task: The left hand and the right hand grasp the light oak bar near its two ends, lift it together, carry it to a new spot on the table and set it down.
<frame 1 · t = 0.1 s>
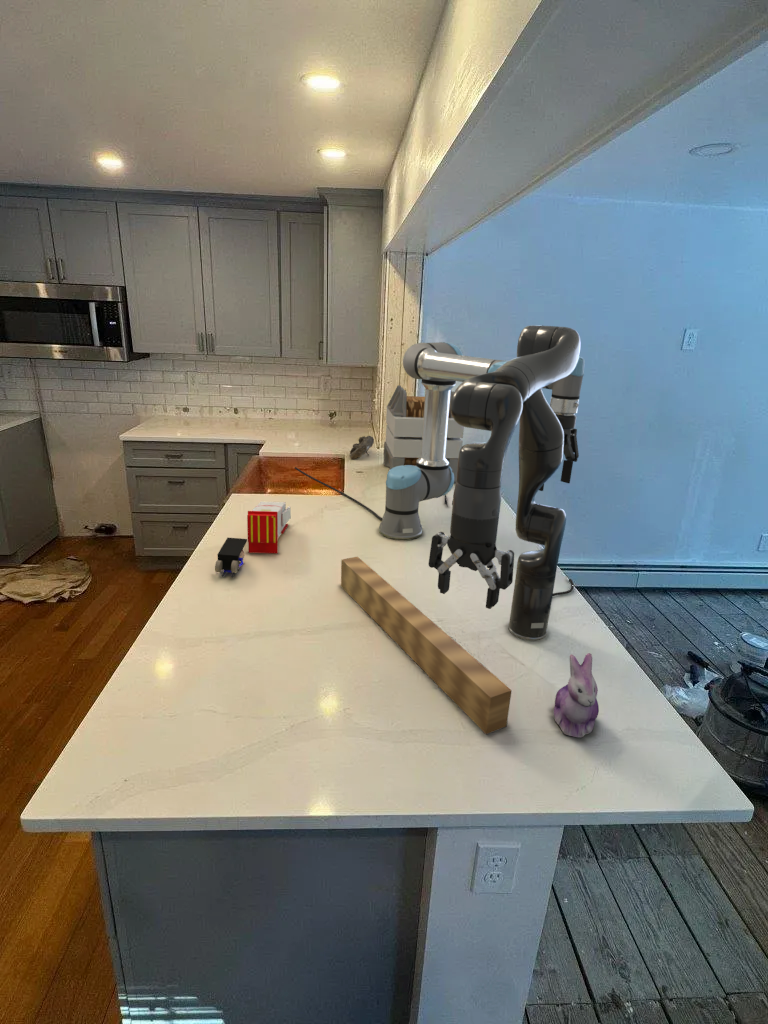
left hand: (552, 486, 166), 28 cm above the counter, tool pointing down, fingers open, 13 cm apart
right hand: (466, 599, 96), 29 cm above the counter, tool pointing down, fingers open, 8 cm apart
toy: (269, 537, 192), on the counter
fossil: (361, 455, 303), on the counter
figurine character: (232, 569, 168), on the counter
feather: (445, 497, 242), on the counter
figurine: (575, 723, 111), on the counter
bar: (407, 643, 135), on the counter
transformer: (419, 473, 275), on the counter
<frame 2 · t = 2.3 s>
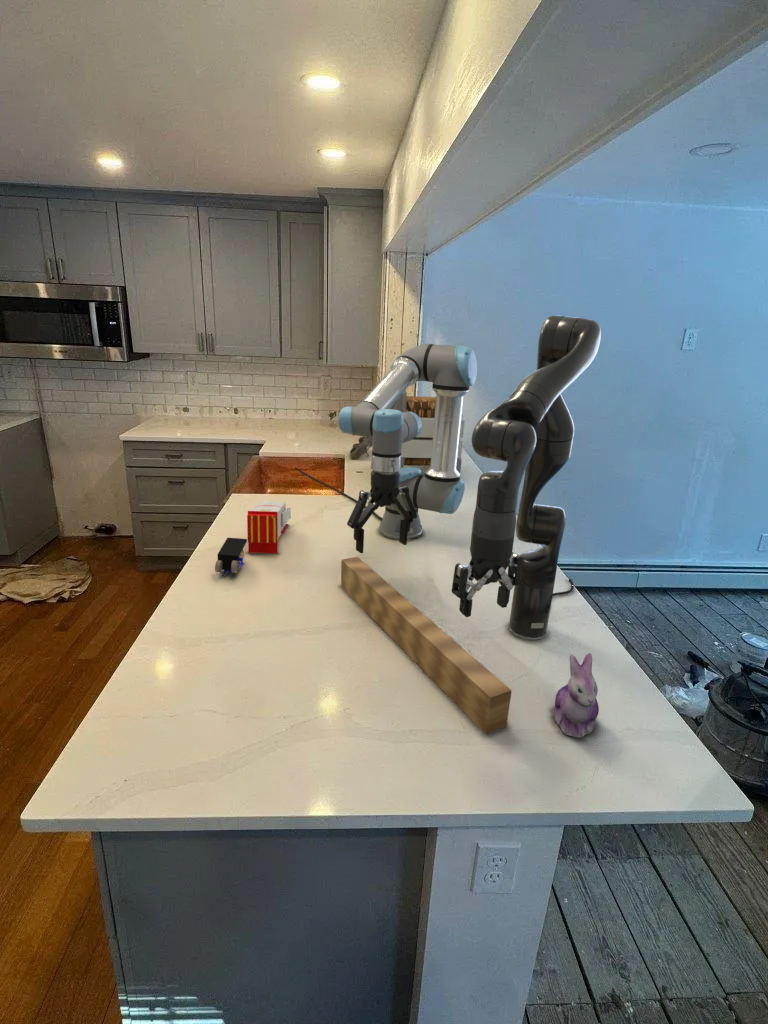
left hand: (381, 547, 152), 14 cm above the counter, tool pointing down, fingers open, 13 cm apart
right hand: (484, 610, 107), 22 cm above the counter, tool pointing down, fingers open, 8 cm apart
nothing on the counter moved.
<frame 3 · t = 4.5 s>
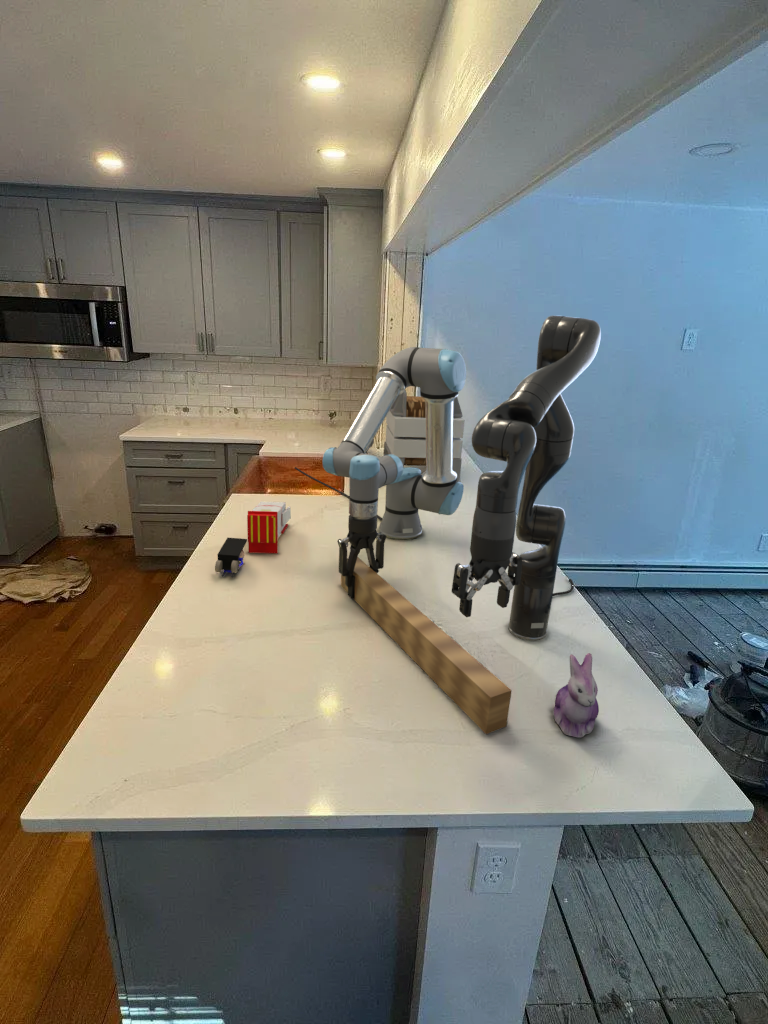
left hand: (360, 594, 156), 1 cm above the counter, tool pointing down, fingers closed on bar, 5 cm apart
right hand: (484, 610, 107), 22 cm above the counter, tool pointing down, fingers open, 8 cm apart
bar: (407, 643, 135), on the counter, touching left hand
everything else where it was.
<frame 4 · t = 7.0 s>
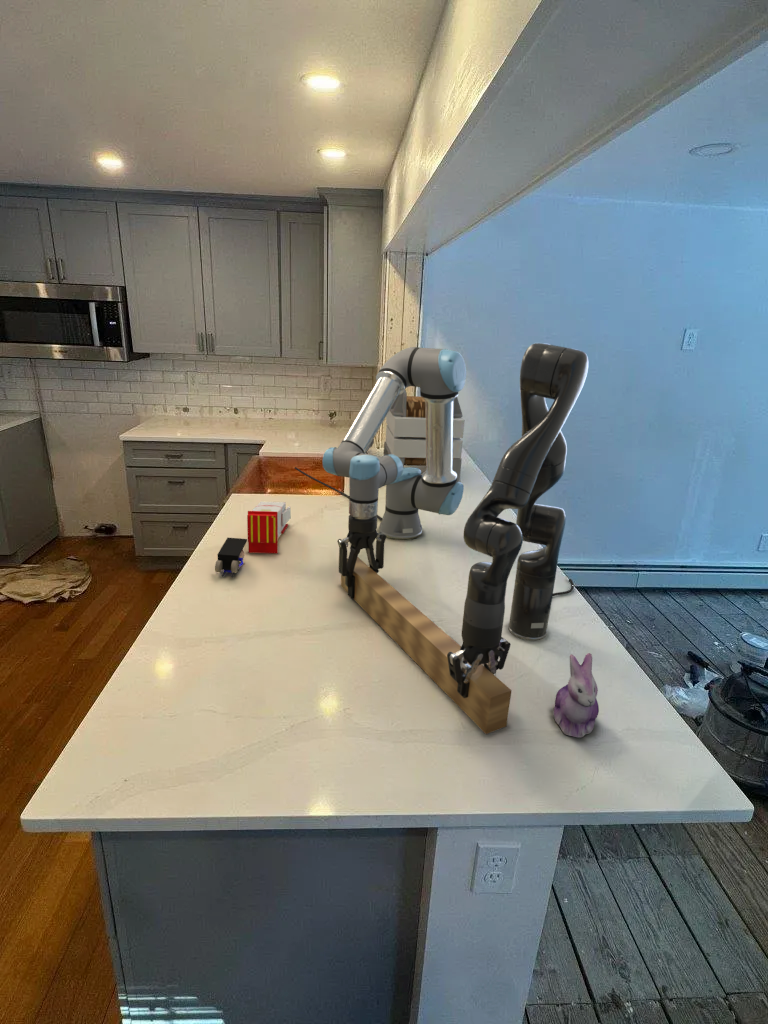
left hand: (360, 594, 156), 1 cm above the counter, tool pointing down, fingers closed on bar, 5 cm apart
right hand: (474, 691, 113), 4 cm above the counter, tool pointing down, fingers closed on bar, 5 cm apart
bar: (407, 643, 135), on the counter, touching left hand, right hand
everything else where it was.
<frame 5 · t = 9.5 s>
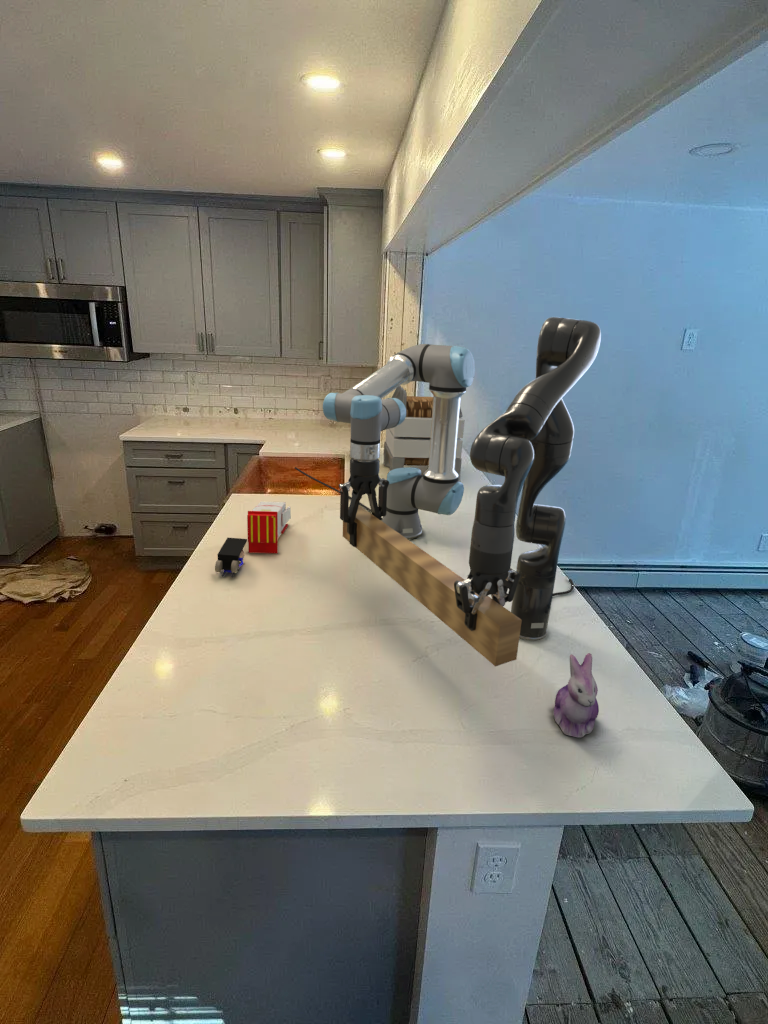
left hand: (362, 543, 151), 16 cm above the counter, tool pointing down, fingers closed on bar, 5 cm apart
right hand: (482, 624, 108), 19 cm above the counter, tool pointing down, fingers closed on bar, 5 cm apart
bar: (412, 585, 130), point 15 cm above the counter, touching left hand, right hand
everything else where it was.
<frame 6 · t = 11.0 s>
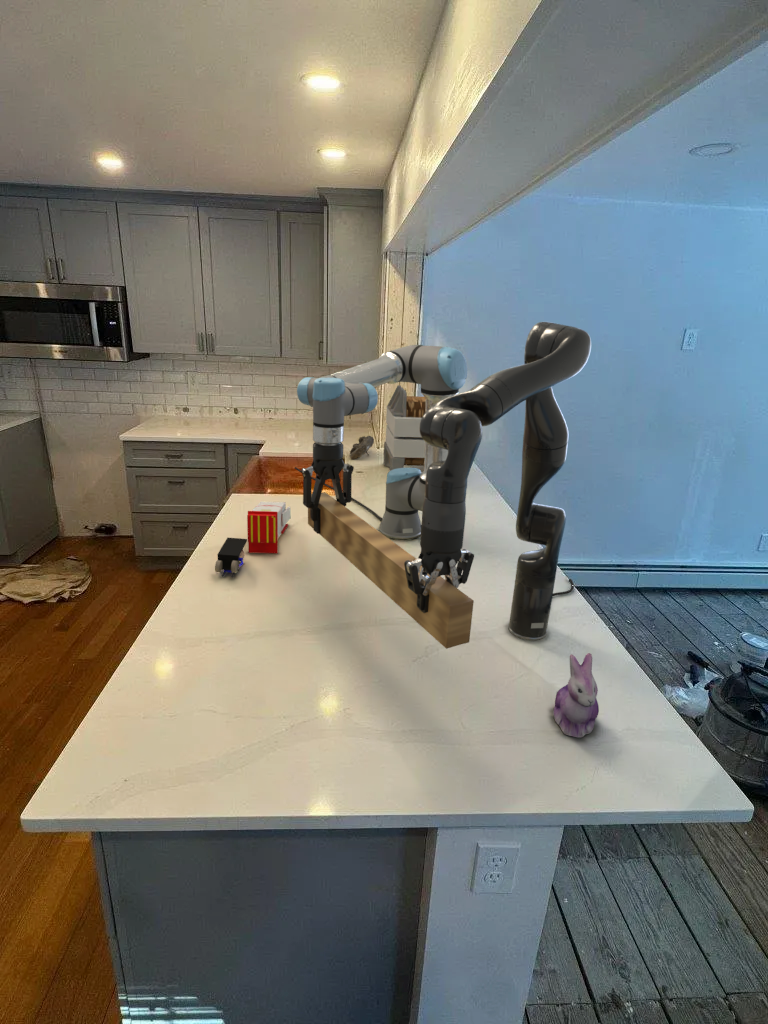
left hand: (327, 529, 148), 20 cm above the counter, tool pointing down, fingers closed on bar, 5 cm apart
right hand: (436, 607, 105), 23 cm above the counter, tool pointing down, fingers closed on bar, 5 cm apart
bar: (372, 571, 127), point 19 cm above the counter, touching left hand, right hand
everything else where it was.
when the left hand's fingers open (2 cm above the counter, at t = 14.8 s): bar drops 1 cm, on the counter.
when the right hand's fingers open (5 cm above the counter, at t = 14.9 s): bar stays where it is, on the counter.
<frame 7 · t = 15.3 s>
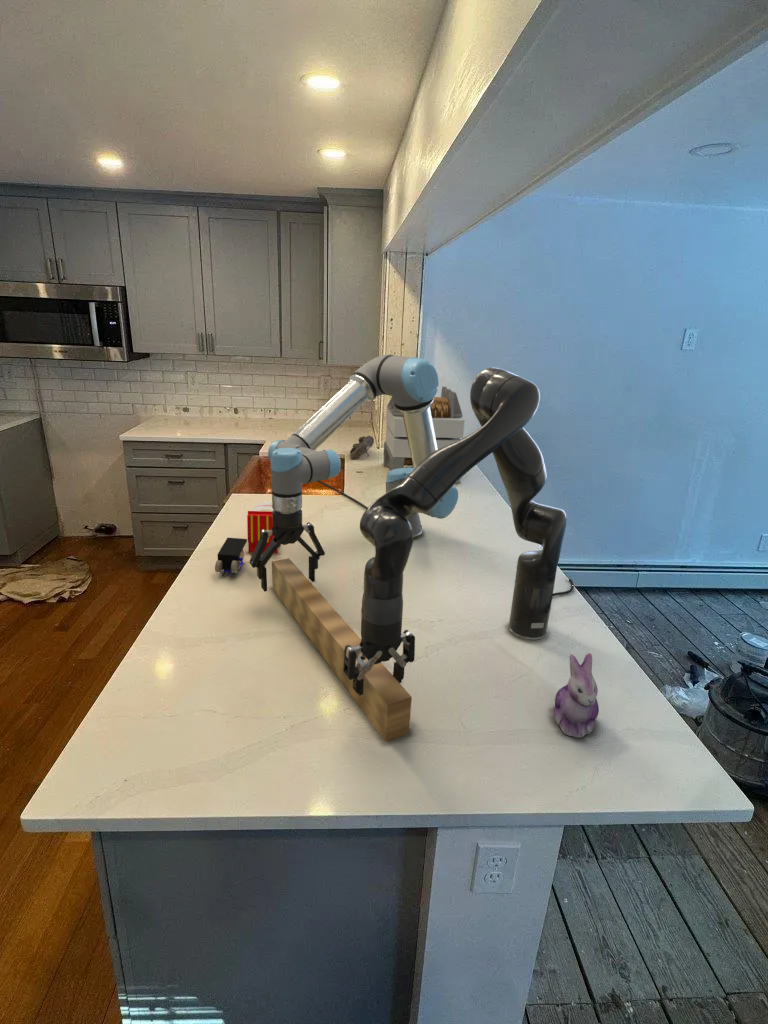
left hand: (288, 584, 152), 4 cm above the counter, tool pointing down, fingers open, 13 cm apart
right hand: (378, 686, 109), 6 cm above the counter, tool pointing down, fingers open, 8 cm apart
bar: (327, 646, 132), on the counter
everything else where it was.
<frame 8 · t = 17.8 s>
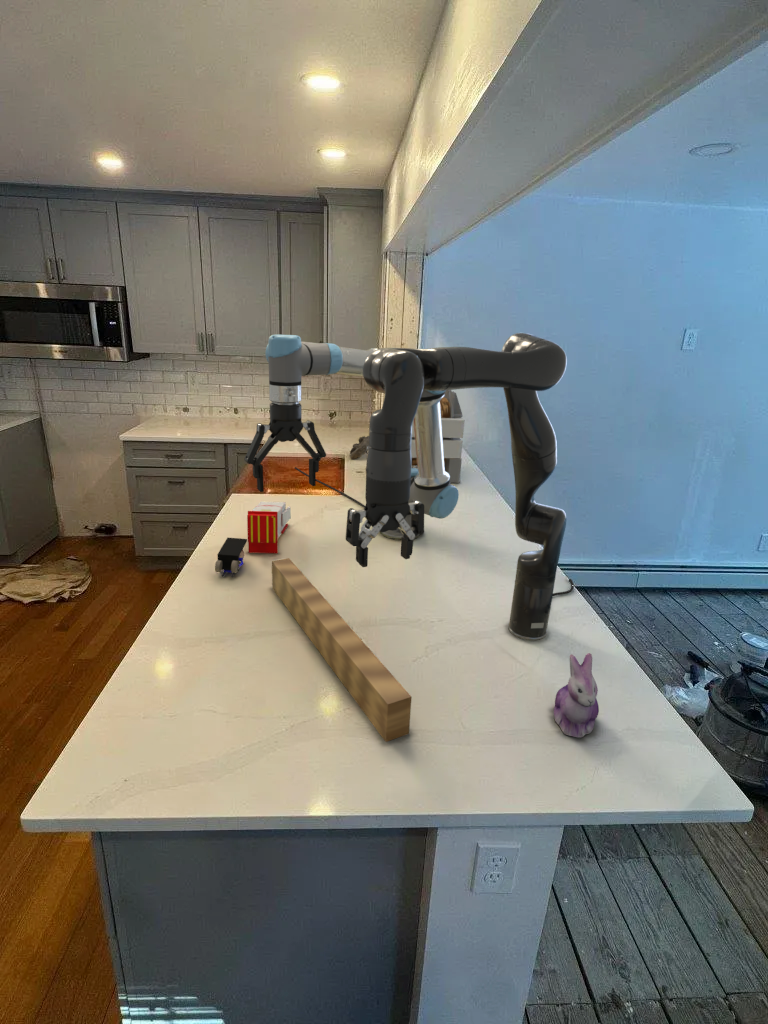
left hand: (286, 487, 142), 31 cm above the counter, tool pointing down, fingers open, 13 cm apart
right hand: (384, 561, 100), 33 cm above the counter, tool pointing down, fingers open, 8 cm apart
nothing on the counter moved.
at the end: bar inside the target area (0.4 cm from its centre), on the counter; bar tilted 0°; bar never tilted more than 2° during the clip; both hands held the bar at the same time; the left hand is holding nothing; the right hand is holding nothing; bar at rest at the end (0.0 cm/s) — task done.
